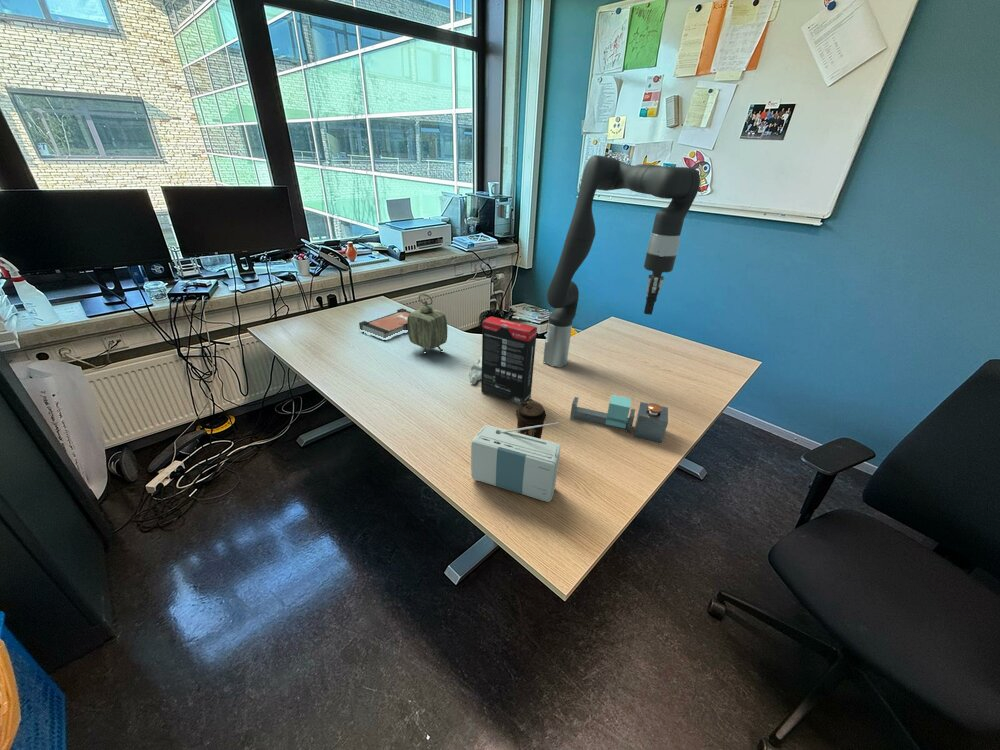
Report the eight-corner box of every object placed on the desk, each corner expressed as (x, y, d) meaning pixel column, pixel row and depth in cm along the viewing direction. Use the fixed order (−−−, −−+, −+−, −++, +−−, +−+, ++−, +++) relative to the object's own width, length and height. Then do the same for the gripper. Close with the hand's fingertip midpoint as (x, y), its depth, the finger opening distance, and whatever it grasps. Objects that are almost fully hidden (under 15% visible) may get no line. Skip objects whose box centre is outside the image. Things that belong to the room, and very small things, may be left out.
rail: (569, 419, 126) (572, 403, 123) (572, 412, 130) (574, 396, 127) (630, 433, 121) (634, 417, 118) (631, 425, 125) (635, 409, 122)
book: (385, 342, 174) (384, 332, 172) (360, 332, 183) (358, 322, 180) (427, 325, 193) (427, 316, 191) (402, 317, 202) (402, 308, 199)
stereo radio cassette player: (469, 482, 100) (469, 417, 91) (482, 462, 107) (483, 400, 97) (549, 507, 94) (558, 441, 84) (557, 484, 101) (566, 420, 91)
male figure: (510, 339, 157) (482, 368, 138) (509, 360, 162) (482, 391, 143) (485, 334, 161) (454, 362, 141) (485, 355, 166) (456, 384, 146)
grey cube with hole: (633, 437, 119) (639, 415, 115) (635, 423, 126) (640, 401, 122) (661, 443, 117) (668, 421, 113) (661, 428, 123) (667, 407, 120)
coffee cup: (512, 436, 117) (514, 399, 111) (539, 435, 118) (543, 399, 112) (515, 455, 110) (518, 417, 104) (545, 454, 111) (549, 416, 104)
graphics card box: (532, 398, 137) (538, 324, 124) (523, 407, 131) (529, 331, 118) (489, 385, 144) (491, 314, 131) (479, 393, 138) (480, 320, 125)
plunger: (642, 427, 119) (647, 408, 116) (643, 420, 122) (648, 402, 119) (656, 430, 118) (662, 411, 114) (657, 423, 121) (662, 404, 118)
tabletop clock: (448, 352, 166) (446, 295, 154) (434, 360, 159) (431, 300, 147) (422, 344, 173) (418, 288, 161) (407, 351, 166) (402, 293, 154)
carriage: (605, 423, 122) (609, 403, 118) (607, 414, 126) (611, 394, 123) (625, 428, 120) (630, 407, 117) (626, 419, 125) (631, 398, 121)
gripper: (648, 246, 111) (635, 304, 120) (646, 254, 101) (632, 318, 109) (676, 248, 109) (661, 308, 118) (677, 258, 98) (661, 323, 107)
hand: (647, 313), depth 113 cm, fingers closed
